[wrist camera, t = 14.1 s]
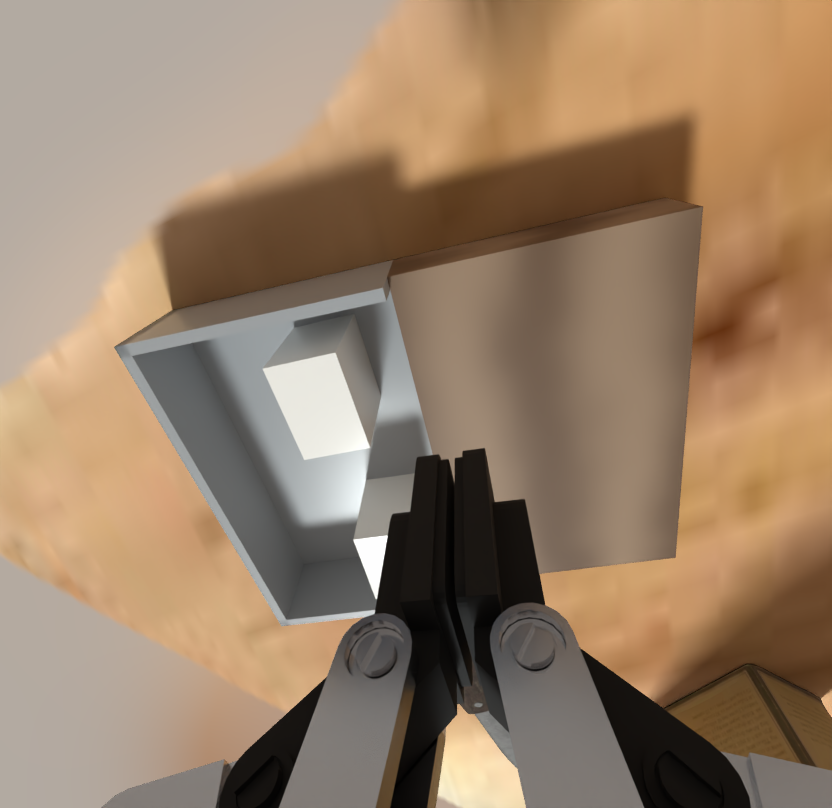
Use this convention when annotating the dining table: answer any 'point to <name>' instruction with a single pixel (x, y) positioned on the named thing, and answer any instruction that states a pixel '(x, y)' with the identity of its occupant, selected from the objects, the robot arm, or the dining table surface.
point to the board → (564, 372)
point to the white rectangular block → (326, 387)
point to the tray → (280, 433)
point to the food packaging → (760, 718)
